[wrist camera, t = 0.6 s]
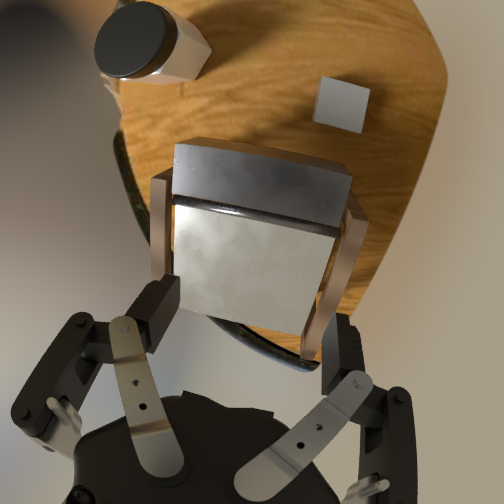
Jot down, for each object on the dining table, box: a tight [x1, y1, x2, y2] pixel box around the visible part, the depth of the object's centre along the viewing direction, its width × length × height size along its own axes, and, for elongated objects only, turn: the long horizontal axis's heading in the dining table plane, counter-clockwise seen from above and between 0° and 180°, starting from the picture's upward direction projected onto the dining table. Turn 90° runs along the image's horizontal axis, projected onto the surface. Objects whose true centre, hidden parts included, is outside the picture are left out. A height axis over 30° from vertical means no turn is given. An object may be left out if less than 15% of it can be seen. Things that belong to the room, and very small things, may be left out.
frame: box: [150, 166, 370, 361], centre depth 31 cm, size 17×18×13 cm
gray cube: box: [312, 76, 370, 134], centre depth 26 cm, size 5×5×5 cm
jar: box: [94, 1, 212, 85], centre depth 22 cm, size 9×8×12 cm
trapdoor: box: [172, 137, 353, 336], centre depth 25 cm, size 18×15×5 cm
